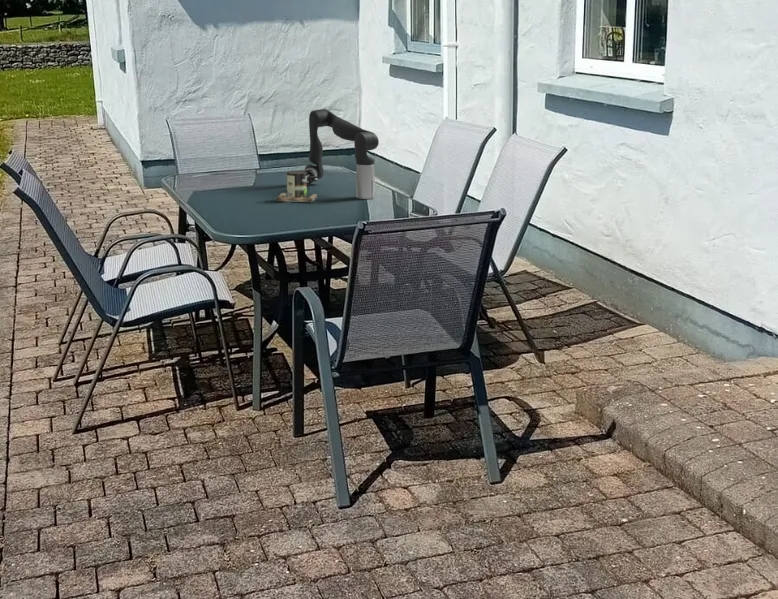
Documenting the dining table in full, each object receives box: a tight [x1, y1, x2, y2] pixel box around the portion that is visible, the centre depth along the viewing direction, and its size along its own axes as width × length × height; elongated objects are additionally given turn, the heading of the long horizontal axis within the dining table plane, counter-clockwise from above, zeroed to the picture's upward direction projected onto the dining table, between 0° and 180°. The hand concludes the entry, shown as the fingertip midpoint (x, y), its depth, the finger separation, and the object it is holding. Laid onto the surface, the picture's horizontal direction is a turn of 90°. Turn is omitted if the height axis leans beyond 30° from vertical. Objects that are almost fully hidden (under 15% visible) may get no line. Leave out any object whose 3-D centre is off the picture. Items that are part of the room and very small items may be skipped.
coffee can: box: [286, 170, 308, 198], centre depth 493 cm, size 10×10×14 cm
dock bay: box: [275, 192, 318, 202], centre depth 494 cm, size 18×14×2 cm
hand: (302, 181), depth 509 cm, fingers closed
